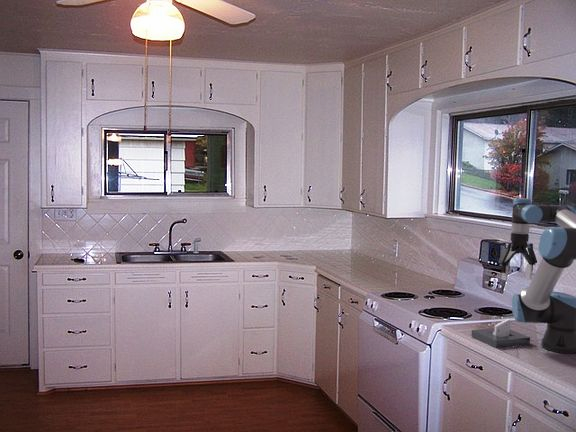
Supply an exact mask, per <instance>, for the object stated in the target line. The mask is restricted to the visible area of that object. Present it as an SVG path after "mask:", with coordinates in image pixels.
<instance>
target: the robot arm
mask: <svg viewBox="0 0 576 432" xmlns="http://www.w3.org/2000/svg"><path fill="white" fill-rule="evenodd" d="M512 203H513V204H512V215H511V228H510V230H511V233H510V241H511V243H507V242H506V243H505V244H504V249H503V251H502V253H501V254H500V257H499V259H498V262H497V263H498V265H500V266H501V270H500V271H501V273H502V274H501V280H502V281H508V276H509V266H508V264H509V263H510V262H511V260H512V259H513V257H514V256H515V255H517V254H522V256H523V257H524V258H525V260H526V262H527V264H526V268H525V269H526V270H525V279H527V280H531V281H530V282H529V285H528V286H527V287H525V288H523V289H522V290H521V293H517V294H516V293H515V294H513V295H512V298H511V308H512V309H511V310H512V314H513V318H514V320H515V321H517V323H524V324H526V323H527V324H546V325H547V326H546V330H545V332H544V334H543V337H542V338H541V341H540V342H541V344H540V346H541V347H542V348H543V349H546V350H548V351H551V352H554V351H555V353H559V352H560V354H567V353H573V354H576V353H575V352H576V296H575V295H572V294H569V293H565V292H559V291H553V290H554V289H555V287H556V285H557V284H558V281H559V280H560V277H561V276H562V273H563V272H564V270H565V269H566V268H569V267H570V266H572V265H573V263H574V261H575V260H576V209H575V208H574V207H573V206H571V205H546V204H532V199H531V198H525V197H515V198H514V199H513V202H512ZM536 223H544V224H545V223H547V224H548V223H550V224H556V225H557V226H554V227H553V226H551V227H548V228H546V229H544V230H543V231H542V233H541V235H540V237H539V243H538V252H539V255H540V256H541V260H540V262H539V264H538V267H537V269H536V271H535V273H534V275H533V277H532V274H533V271H534V266H535V265H536V264H537V263H538V260H537V256H536V253H535V250H534V243H531V242H529V236H530V235H529V233H530V224H536Z"/></svg>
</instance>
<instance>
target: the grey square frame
mask: <svg viewBox="0 0 576 432" xmlns="http://www.w3.org/2000/svg"><path fill="white" fill-rule="evenodd" d="M494 330H495V327H492V328H481V329H472V330H471V338H472V339H475V340H477V341H480V342H482V343H484V344H486V345H489V346H491V347H493V348H495V349H497V348H498V349H499V347H500V348H508V347H507V346H509V347H516V345H519V346H525V345H526V346H527V344H528V345H531V337H530V336H527V335H525V334H523V333H520V332H517V331H515V330H513V329H510V328H509V336H506V337H498V336H496V335H493V332H494Z"/></svg>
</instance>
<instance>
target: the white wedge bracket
mask: <svg viewBox="0 0 576 432" xmlns="http://www.w3.org/2000/svg"><path fill="white" fill-rule="evenodd" d="M510 325H511V319H510V318H506V319H504V320H502V321H500V322H499V323H497V324H495V325H494V328H495V330H494V332H493V335H496V336H498V337H506V336H509V329H510V327H511V326H510Z"/></svg>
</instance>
